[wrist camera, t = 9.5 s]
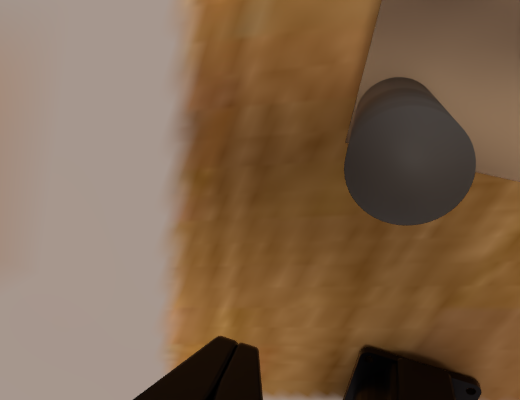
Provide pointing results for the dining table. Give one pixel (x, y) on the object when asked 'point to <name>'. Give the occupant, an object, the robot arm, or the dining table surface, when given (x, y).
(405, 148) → the square plate with pegs
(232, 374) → the robot arm
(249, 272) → the dining table surface
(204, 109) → the dining table surface
